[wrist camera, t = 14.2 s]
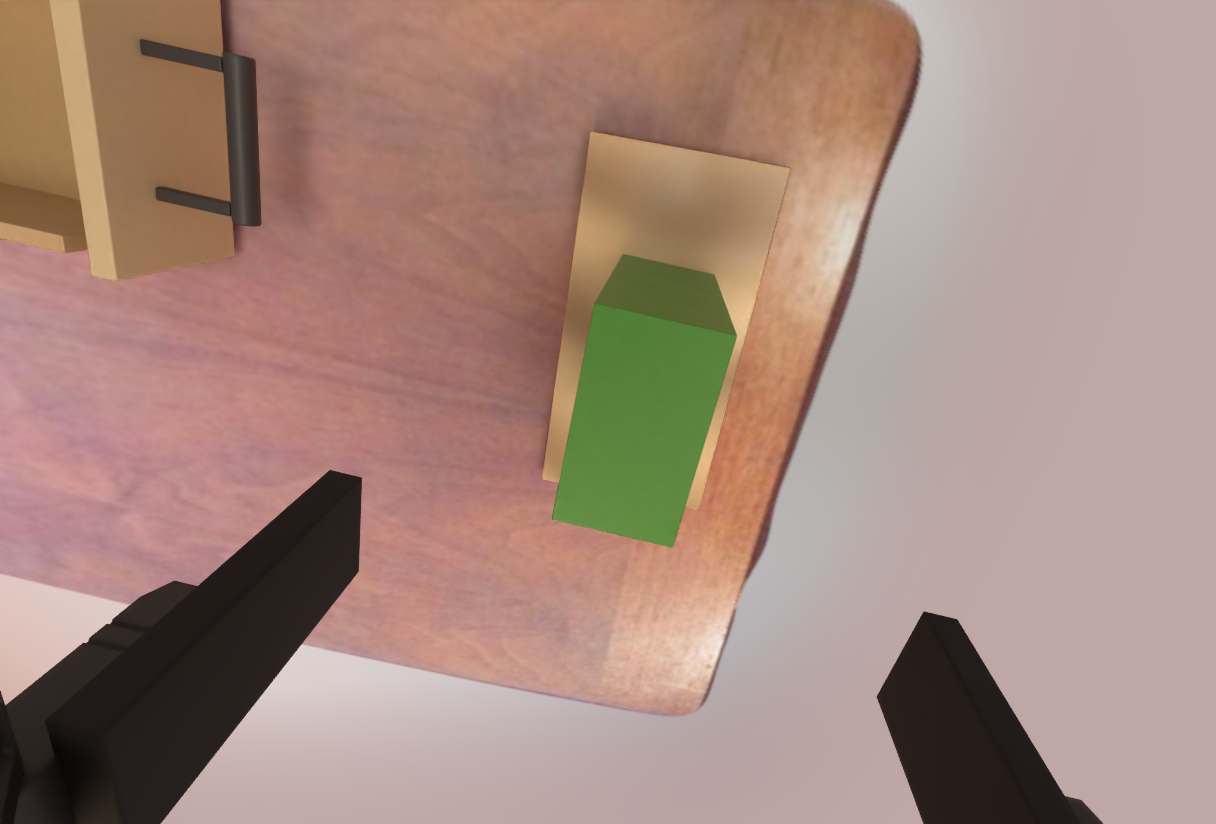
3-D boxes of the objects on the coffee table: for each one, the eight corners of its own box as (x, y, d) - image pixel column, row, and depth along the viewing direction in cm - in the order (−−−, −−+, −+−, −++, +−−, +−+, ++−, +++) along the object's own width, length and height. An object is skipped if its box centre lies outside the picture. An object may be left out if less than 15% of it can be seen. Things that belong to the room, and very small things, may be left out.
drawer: (316, -1, 28) (194, -58, 21) (316, 275, 33) (219, 305, 26) (-69, -86, 28) (-319, -170, 21) (-8, 201, 34) (-191, 211, 27)
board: (593, 132, 30) (590, 130, 29) (787, 167, 30) (791, 167, 28) (545, 470, 38) (541, 479, 37) (697, 500, 38) (698, 510, 36)
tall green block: (715, 274, 31) (737, 335, 20) (673, 425, 34) (672, 548, 23) (622, 253, 31) (594, 302, 20) (590, 406, 35) (551, 519, 24)
